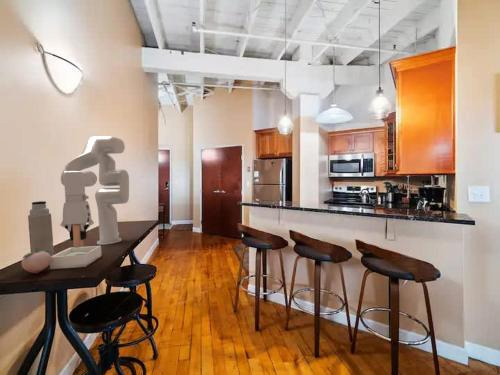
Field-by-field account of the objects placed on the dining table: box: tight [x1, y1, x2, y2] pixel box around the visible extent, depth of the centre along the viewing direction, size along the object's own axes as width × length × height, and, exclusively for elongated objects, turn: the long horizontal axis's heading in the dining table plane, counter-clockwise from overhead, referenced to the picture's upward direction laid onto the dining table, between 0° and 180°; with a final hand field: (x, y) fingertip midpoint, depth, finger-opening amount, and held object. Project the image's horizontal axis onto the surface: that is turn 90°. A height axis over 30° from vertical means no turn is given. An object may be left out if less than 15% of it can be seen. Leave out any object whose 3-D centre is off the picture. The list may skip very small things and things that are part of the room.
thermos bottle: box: [27, 201, 55, 267], centre depth 116 cm, size 8×8×28 cm
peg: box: [72, 224, 84, 248], centre depth 118 cm, size 4×4×10 cm
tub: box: [49, 245, 103, 270], centre depth 118 cm, size 15×14×5 cm
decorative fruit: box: [21, 249, 51, 274], centre depth 105 cm, size 9×8×10 cm
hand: (78, 239), depth 118 cm, fingers closed on peg, 3 cm apart
